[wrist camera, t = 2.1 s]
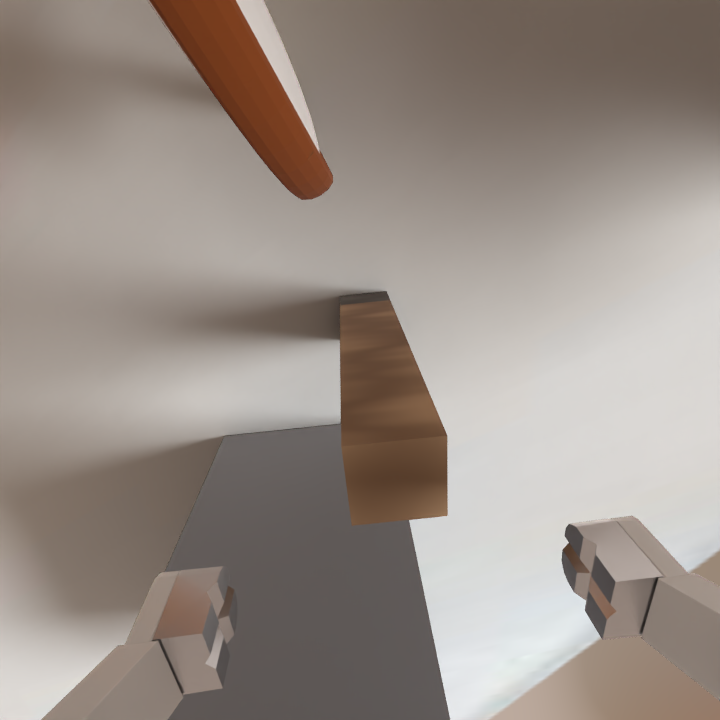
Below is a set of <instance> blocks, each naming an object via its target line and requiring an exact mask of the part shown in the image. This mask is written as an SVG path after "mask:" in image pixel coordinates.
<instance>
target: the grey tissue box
mask: <svg viewBox="0 0 720 720" xmlns="http://www.w3.org/2000/svg"><path fill="white" fill-rule="evenodd" d="M221 566H226V567H227V568H228V571H229V574H230V580H229V584H228V586H230V587H231V588H233V589H234V590H235V593H236V597H237V604H238V613H237V624H236V629H235V634H234V636H233V637H232V638H231V639H230V641H229V642H228V643H227V644H226V645H227V648H228V651H229V654H230V658H229V662H228V667H227V672H226V676H225V681H224V685H223V688H222V689H215V690H209V691H203V692H197V693H190V694H184V695H183V698H182V700H181V701H180V703H179V704H178V706H177V707H176V708H175V710H174V711H173V713H172V714H171V716H170V717H169V718H168V720H450V717H449V712H448V707H447V702H446V697H445V693H444V688H443V683H442V678H441V673H440V668H439V664H438V659H437V654H436V649H435V644H434V639H433V635H432V630H431V625H430V620H429V615H428V610H427V606H426V601H425V596H424V591H423V586H422V581H421V576H420V572H419V567H418V562H417V557H416V552H415V547H414V543H413V538H412V533H411V528H410V523H409V520H402V521H393V522H383V523H374V524H364V525H355V526H352V524H351V516H350V509H349V501H348V494H347V486H346V479H345V471H344V464H343V456H342V448H341V424H336V425H327V426H317V427H307V428H298V429H288V430H279V431H269V432H259V433H250V434H240V435H230V436H224V438H223V440H222V443H221V445H220V447H219V449H218V452H217V454H216V456H215V459H214V461H213V463H212V465H211V468H210V470H209V472H208V474H207V477H206V479H205V481H204V484H203V486H202V488H201V490H200V493H199V495H198V497H197V499H196V502H195V504H194V506H193V509H192V511H191V513H190V515H189V518H188V520H187V522H186V524H185V527H184V529H183V531H182V534H181V536H180V538H179V540H178V543H177V545H176V547H175V549H174V552H173V554H172V556H171V559H170V561H169V563H168V565H167V568H166V570H165V572H171V571H180V570H189V569H199V568H210V567H221Z"/></svg>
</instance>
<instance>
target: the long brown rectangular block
mask: <svg viewBox="0 0 720 720" xmlns="http://www.w3.org/2000/svg"><path fill="white" fill-rule="evenodd" d="M340 378H341V448H342V456H343V464H344V471H345V479H346V486H347V494H348V501H349V509H350V516H351V524H352V526H355V525H364V524H374V523H383V522H393V521H402V520H412V519H421V518H431V517H440V516H447V434H446V432H445V429H444V427H443V425H442V422H441V420H440V417H439V415H438V413H437V410H436V408H435V406H434V403H433V401H432V398H431V396H430V394H429V391H428V389H427V387H426V384H425V382H424V379H423V377H422V375H421V372H420V370H419V368H418V365H417V363H416V361H415V358H414V356H413V353H412V351H411V349H410V346H409V344H408V342H407V339H406V337H405V334H404V332H403V330H402V327H401V325H400V323H399V320H398V318H397V315H396V313H395V311H394V308H393V306H392V304H391V301H390V299H389V296H388V294H387V292H377V293H367V294H357V295H348V296H340Z"/></svg>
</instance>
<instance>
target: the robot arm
mask: <svg viewBox="0 0 720 720" xmlns="http://www.w3.org/2000/svg"><path fill="white" fill-rule="evenodd" d="M565 537H566V539H567V540H568V542H569V543H568V544H567V546H566V547H565V548H564V549H563V552H562V564H563V569H564V573H565V576H566V578H567V580H568V583H569V584H570V586H571V588H572V589H573V591H574V592H575V593H576V594H578V595H579V596H580V597H582V598H583V599H585V600H586V605H585V611H586V613H587V615H588V616H589V618H590V620H591V621H592V623H593V625H594V626H595V628H596V630H597V631H598V633H599V635H600V636H601V638H602V639H615V638H624V637H635V636H642V637H641V638H642V639H643V640H644V641H645V642H647V643H648V644H649V645H650V646H652V647H653V648H654V649H655V650H657V651H658V652H659V653H660V654H662V655H663V656H664V657H665V658H667V659H668V660H669V661H670V662H672V663H673V664H674V665H675V666H676V667H678V668H679V669H680V670H681V671H683V672H684V673H685V674H687V675H688V676H689V677H691V679H693V680H694V681H695V682H696V683H698V684H699V685H700V686H701V687H703V688H704V689H705V690H706V691H708V692H709V693H710V694H711V695H713V696H714V697H715V698H716V699H718V700H719V701H720V586H718V585H717V584H715V583H712V582H711V581H709V580H707V579H705V578H703V577H701V576H699V575H698V574H688V572H687V571H686V570H685V569H684V568H683V567H682V566H681V565H680V564H679V563H678V562H677V561H676V560H675V558H674V557H673V556H672V555H671V554H670V553H669V552H668V551H667V550H666V549H665V548H664V547H663V545H662V544H661V543H660V542H659V541H658V540H657V539H656V538H655V537H654V536H653V535H652V534H651V533H650V531H649V530H648V529H647V528H646V527H645V526H644V525H643V524H642V523H641V522H640V521H639V520H638V519H637V518H635V517H633V516H627V517H619V518H611V519H601V520H594V521H586V522H579V523H571V524H569V525H568V526H567V527H566V531H565ZM229 580H230V574H229V571H228V568H227V567H226V566H221V567H210V568H199V569H189V570H180V571H171V572H161V573H159V574H158V576H157V577H156V578H155V579H154V581H153V583H152V585H151V588H150V590H149V592H148V594H147V596H146V599H145V601H144V603H143V605H142V608H141V610H140V612H139V614H138V616H137V619H136V621H135V623H134V625H133V628H132V630H131V632H130V634H129V637H128V639H127V641H126V643H125V645H118V646H117V647H116V648H115V649H114V650H113V651H112V652H111V653H110V654H109V655H108V656H107V657H106V658H105V659H104V660H103V661H101V662H100V663H99V664H98V665H97V666H96V667H95V668H94V669H93V670H92V671H91V672H90V673H89V674H88V675H87V676H86V677H85V678H84V679H83V680H82V681H81V682H80V683H79V684H78V685H77V686H76V687H75V688H74V689H72V690H71V691H70V692H69V693H68V694H67V695H66V696H65V697H64V698H63V699H62V700H61V701H60V702H59V703H58V704H57V705H56V706H55V707H54V708H53V709H52V710H51V711H50V712H49V713H48V714H47V715H46V716H45V717H43V718H42V719H41V720H168V718H169V717H170V716H171V714H172V713H173V711H174V710H175V708H176V707H177V706H178V704H179V703H180V701H181V700H182V698H183V695H184V694H190V693H197V692H203V691H209V690H215V689H222V688H223V685H224V681H225V676H226V672H227V667H228V662H229V658H230V654H229V651H228V648H227V645H226V644H227V643H228V642H229V641H230V639H231V638H232V637H233V636H234V634H235V629H236V624H237V613H238V604H237V597H236V593H235V590H234V589H233V588H231V587H230V586H228V584H229Z"/></svg>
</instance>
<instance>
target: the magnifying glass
mask: <svg viewBox="0 0 720 720" xmlns="http://www.w3.org/2000/svg"><path fill="white" fill-rule="evenodd" d="M148 2H149V3H150V5H151V6H152V8H153V9H154V11H155V12H156V14H157V15H158V17H159V18H160V20H161V21H162V23H163V24H164V26H165V27H166V28H167V30H168V31H169V33H170V34H171V36H172V37H173V39H174V40H175V42H176V43H177V44H178V46H179V47H180V49H181V50H182V51H183V53H184V54H185V56H186V57H187V58H188V60H189V61H190V63H191V64H192V65H193V67H194V68H195V69H196V71H197V72H198V73H199V75H200V76H201V77H202V79H203V80H204V81H205V83H206V84H207V86H208V87H209V88H210V90H211V91H212V93H213V94H214V96H215V97H216V98H217V100H218V101H219V103H220V104H221V105H222V107H223V108H224V109H225V111H226V112H227V114H228V115H229V116H230V118H231V119H232V120H233V122H234V123H235V125H236V126H237V127H238V129H239V130H240V131H241V133H242V134H243V135H244V137H245V138H246V139H247V141H248V142H249V143H250V145H251V146H252V147H253V149H254V150H255V151H256V153H257V154H258V155H259V156H260V158H261V159H262V160H263V161H264V163H265V164H266V165H267V166H268V168H269V169H270V170H271V171H272V172H273V174H274V175H275V176H276V177H277V178H278V179H279V180H280V182H281V183H282V184H283V185H284V186H285V187H286V188H287V189H288V190H289V191H290V192H291V193H293V194H294V195H295V196H297V197H298V198H300V199H302V200H307V199H313V198H316V197H318V196H320V195H322V194H323V193H324V192H325V191H327V190H328V189H329V187H330V186H331V184H332V183H333V175H332V173H331V171H330V169H329V167H328V165H327V163H326V161H325V159H324V157H323V155H322V153H321V152H320V150H319V145H318V141H317V138H316V134H315V130H314V127H313V123H312V119H311V116H310V113H309V110H308V107H307V104H306V102H305V99H304V96H303V93H302V90H301V87H300V84H299V82H298V79H297V77H296V74H295V72H294V69H293V67H292V64H291V62H290V59H289V57H288V54H287V52H286V50H285V47H284V45H283V42H282V40H281V38H280V35H279V33H278V31H277V29H276V26H275V24H274V22H273V20H272V18H271V15H270V13H269V11H268V9H267V7H266V4H265V2H264V0H148Z"/></svg>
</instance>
